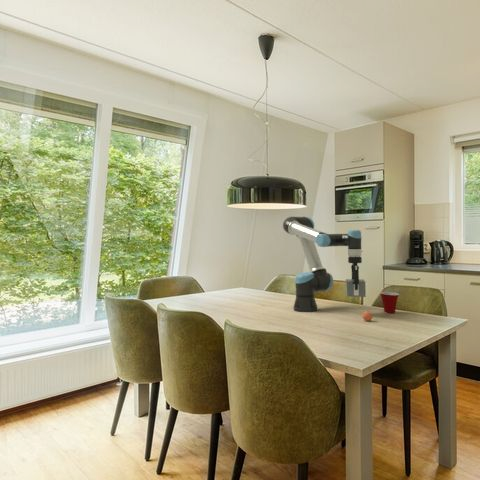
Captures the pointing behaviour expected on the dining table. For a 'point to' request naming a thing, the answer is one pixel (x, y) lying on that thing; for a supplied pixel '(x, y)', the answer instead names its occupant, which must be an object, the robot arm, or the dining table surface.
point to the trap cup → (351, 288)
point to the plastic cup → (389, 301)
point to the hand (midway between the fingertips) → (355, 293)
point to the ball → (367, 316)
